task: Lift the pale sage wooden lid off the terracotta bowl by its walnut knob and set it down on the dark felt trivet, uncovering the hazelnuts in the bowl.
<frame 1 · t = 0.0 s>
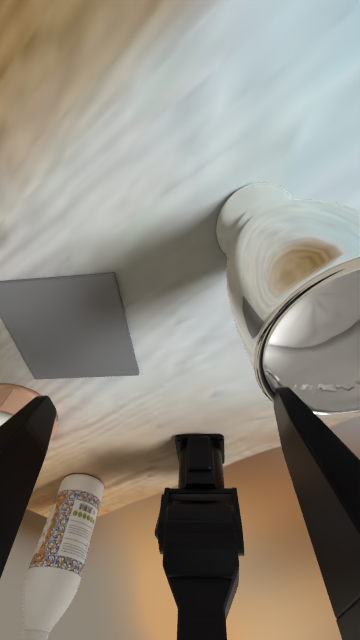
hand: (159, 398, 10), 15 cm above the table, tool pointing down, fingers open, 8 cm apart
bowl: (18, 410, 35), on the table
trivet: (70, 331, 28), on the table
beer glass: (255, 225, 21), on the table, touching gripper
bath foam: (84, 481, 46), on the table
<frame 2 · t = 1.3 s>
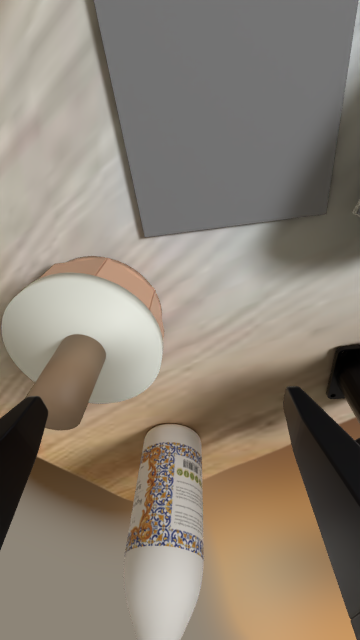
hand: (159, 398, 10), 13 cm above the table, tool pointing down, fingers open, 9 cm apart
bowl: (103, 312, 23), on the table
trivet: (227, 115, 15), on the table
lid: (88, 341, 20), point 4 cm above the table, touching bowl
bath foam: (173, 437, 34), on the table
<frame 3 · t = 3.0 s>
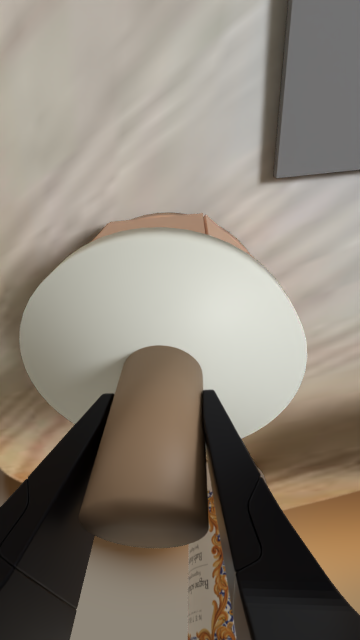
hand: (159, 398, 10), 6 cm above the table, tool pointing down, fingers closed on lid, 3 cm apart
bowl: (170, 306, 15), on the table
lid: (164, 355, 12), point 4 cm above the table, touching bowl, gripper
bath foam: (226, 473, 26), on the table
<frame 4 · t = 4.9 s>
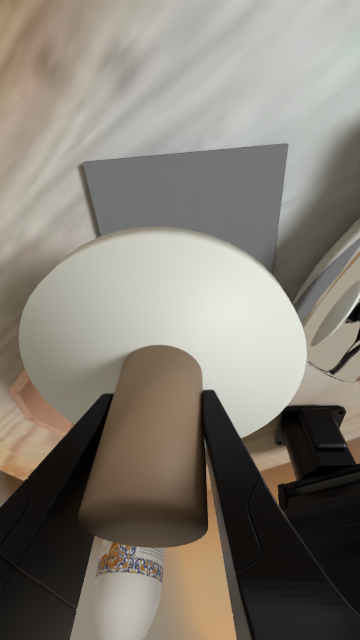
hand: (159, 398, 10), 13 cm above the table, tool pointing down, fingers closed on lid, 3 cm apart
bowl: (86, 372, 27), on the table
trivet: (188, 249, 20), on the table
lid: (164, 355, 12), point 10 cm above the table, touching gripper
bath foam: (145, 467, 38), on the table
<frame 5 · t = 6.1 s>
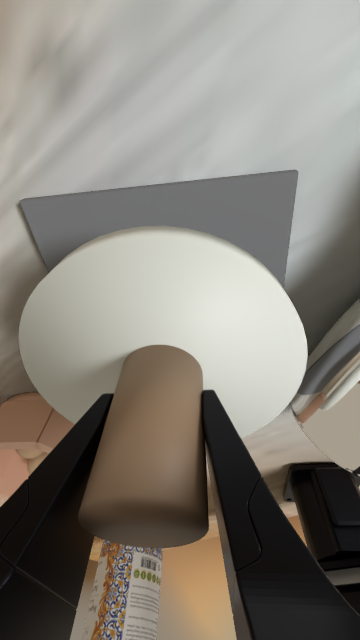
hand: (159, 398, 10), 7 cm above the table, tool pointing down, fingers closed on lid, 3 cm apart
bowl: (59, 431, 23), on the table
trivet: (170, 301, 15), on the table
lid: (164, 355, 12), point 4 cm above the table, touching gripper
bath foam: (136, 518, 34), on the table
when the fingers open (4 cm above the table, at t = 6.9 s): lid drops 1 cm, resting on trivet.
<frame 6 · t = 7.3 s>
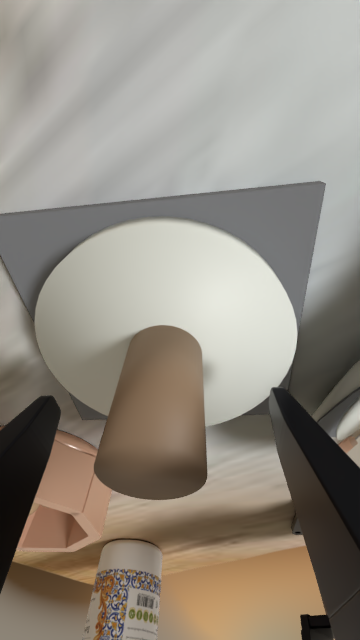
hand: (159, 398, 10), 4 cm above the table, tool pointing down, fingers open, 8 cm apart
bowl: (45, 463, 21), on the table
trivet: (167, 331, 13), on the table
lid: (167, 337, 13), resting on trivet
bath foam: (133, 546, 32), on the table
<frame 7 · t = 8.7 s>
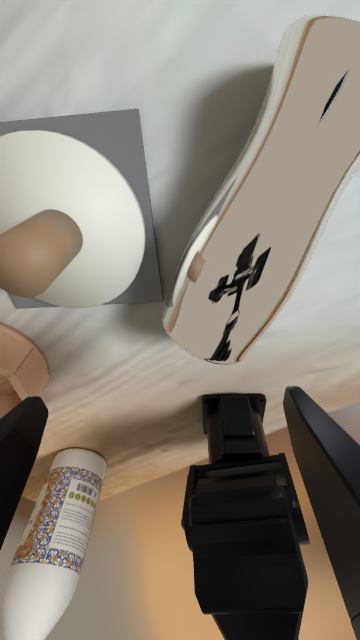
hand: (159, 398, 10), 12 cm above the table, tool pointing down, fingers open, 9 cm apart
trivet: (66, 227, 19), on the table
lid: (64, 229, 18), resting on trivet
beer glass: (356, 52, 11), point 3 cm above the table
bath foam: (82, 458, 37), on the table
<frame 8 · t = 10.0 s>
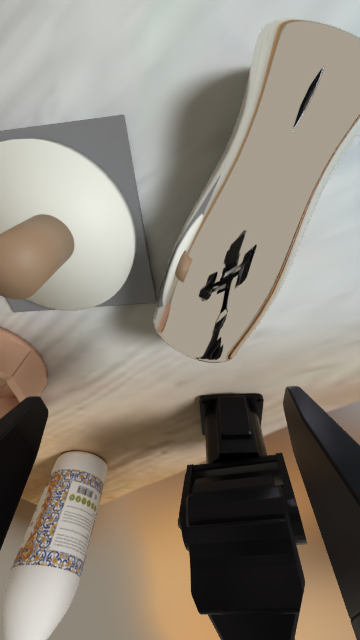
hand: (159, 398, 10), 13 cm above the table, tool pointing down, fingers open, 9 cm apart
trivet: (59, 231, 19), on the table
lid: (57, 233, 19), resting on trivet
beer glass: (329, 53, 11), point 3 cm above the table
bath foam: (83, 461, 38), on the table
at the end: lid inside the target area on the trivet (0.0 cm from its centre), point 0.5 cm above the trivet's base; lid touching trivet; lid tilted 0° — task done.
